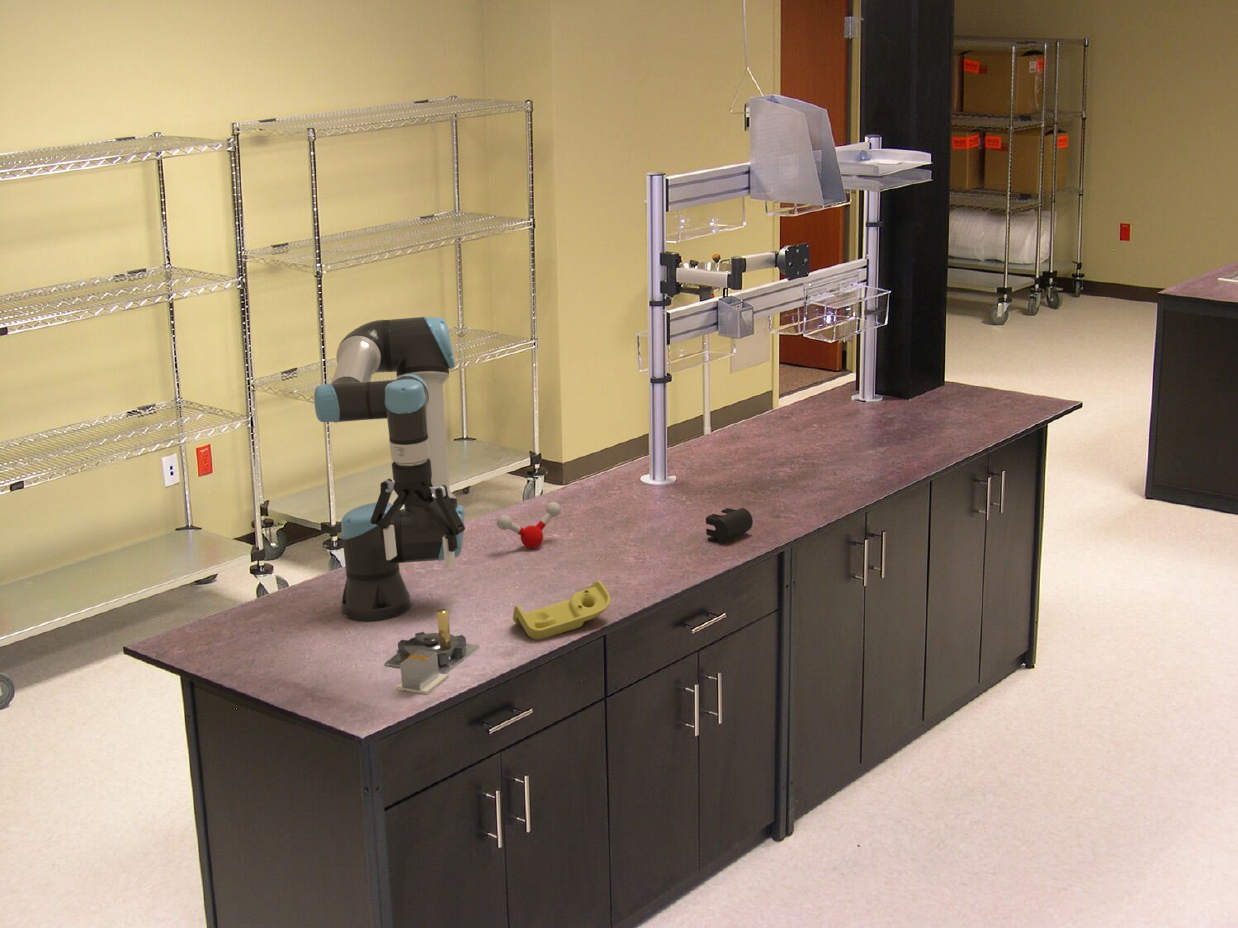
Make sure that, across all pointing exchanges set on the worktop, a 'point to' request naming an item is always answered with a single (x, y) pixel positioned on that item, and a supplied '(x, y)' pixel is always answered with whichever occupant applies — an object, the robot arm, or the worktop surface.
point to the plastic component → (564, 613)
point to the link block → (419, 669)
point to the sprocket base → (442, 668)
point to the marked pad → (428, 687)
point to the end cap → (728, 524)
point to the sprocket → (435, 642)
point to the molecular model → (530, 534)
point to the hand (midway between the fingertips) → (420, 561)
